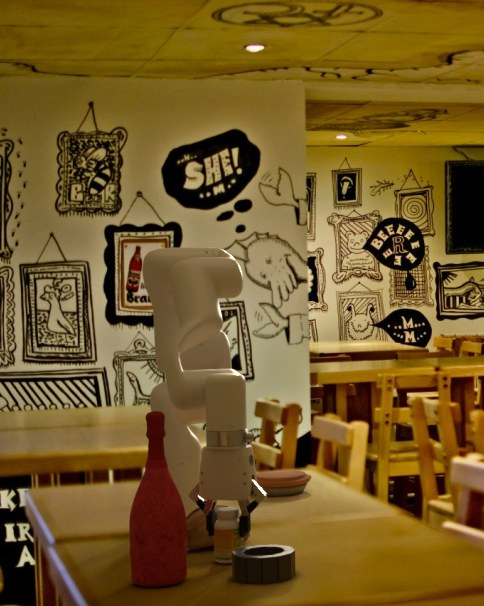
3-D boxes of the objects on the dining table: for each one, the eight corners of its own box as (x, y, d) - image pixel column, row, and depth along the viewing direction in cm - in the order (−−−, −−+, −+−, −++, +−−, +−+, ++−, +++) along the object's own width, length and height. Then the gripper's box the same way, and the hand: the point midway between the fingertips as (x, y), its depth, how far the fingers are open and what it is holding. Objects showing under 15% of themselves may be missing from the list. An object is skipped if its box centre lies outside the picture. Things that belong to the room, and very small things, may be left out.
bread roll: (168, 548, 245) (167, 508, 245) (234, 537, 255) (233, 498, 254) (192, 556, 238) (191, 514, 238) (259, 544, 247) (258, 504, 247)
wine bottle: (135, 576, 222) (131, 409, 222) (191, 574, 223) (186, 407, 222) (126, 590, 212) (121, 415, 212) (184, 587, 213) (180, 413, 213)
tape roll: (224, 583, 216) (223, 557, 216) (245, 568, 227) (244, 544, 226) (284, 584, 214) (283, 558, 214) (302, 569, 225) (301, 545, 225)
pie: (308, 497, 300) (307, 476, 300) (244, 498, 301) (243, 477, 300) (315, 486, 316) (314, 466, 316) (254, 487, 316) (254, 467, 316)
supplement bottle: (237, 564, 229) (236, 512, 229) (210, 563, 230) (209, 511, 230) (247, 557, 234) (246, 506, 234) (220, 556, 236) (219, 505, 235)
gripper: (276, 436, 234) (278, 532, 234) (190, 435, 237) (192, 530, 237) (264, 442, 226) (266, 541, 227) (175, 441, 229) (177, 538, 230)
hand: (228, 534), depth 232 cm, fingers closed on supplement bottle, 5 cm apart
